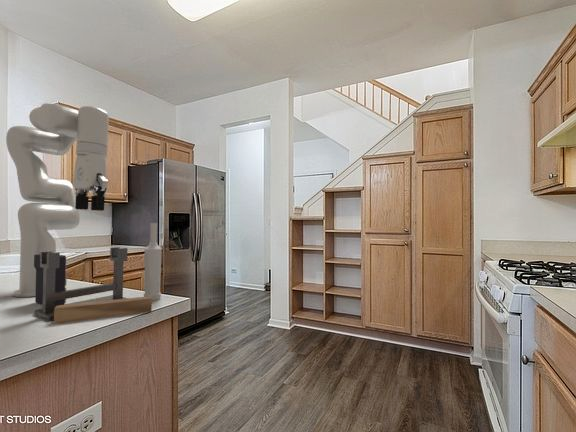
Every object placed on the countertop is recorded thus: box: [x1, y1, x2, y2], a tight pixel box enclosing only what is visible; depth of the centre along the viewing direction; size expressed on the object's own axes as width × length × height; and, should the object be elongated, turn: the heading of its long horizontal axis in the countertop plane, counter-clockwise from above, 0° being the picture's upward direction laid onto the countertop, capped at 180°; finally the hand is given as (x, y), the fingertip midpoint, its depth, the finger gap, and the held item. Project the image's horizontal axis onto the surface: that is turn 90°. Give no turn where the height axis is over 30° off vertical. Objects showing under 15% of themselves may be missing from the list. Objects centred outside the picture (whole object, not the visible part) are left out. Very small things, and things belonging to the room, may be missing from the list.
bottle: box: [143, 222, 163, 302], centre depth 98 cm, size 5×5×25 cm
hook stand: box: [33, 246, 128, 322], centre depth 87 cm, size 10×21×17 cm, turn 147°
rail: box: [53, 296, 153, 325], centre depth 80 cm, size 3×22×4 cm, turn 120°
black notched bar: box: [34, 254, 68, 306], centre depth 91 cm, size 11×4×15 cm, turn 63°
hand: (89, 209), depth 87 cm, fingers open, 9 cm apart
